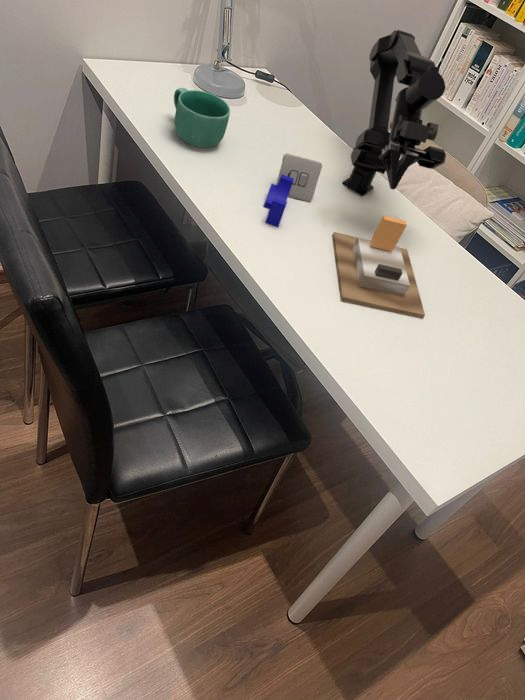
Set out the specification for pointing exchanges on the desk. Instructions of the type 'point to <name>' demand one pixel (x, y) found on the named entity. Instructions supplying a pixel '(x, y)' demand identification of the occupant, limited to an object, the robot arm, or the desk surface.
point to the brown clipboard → (376, 276)
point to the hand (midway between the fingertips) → (392, 188)
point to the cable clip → (277, 200)
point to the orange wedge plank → (388, 233)
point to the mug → (200, 117)
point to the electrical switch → (301, 175)
